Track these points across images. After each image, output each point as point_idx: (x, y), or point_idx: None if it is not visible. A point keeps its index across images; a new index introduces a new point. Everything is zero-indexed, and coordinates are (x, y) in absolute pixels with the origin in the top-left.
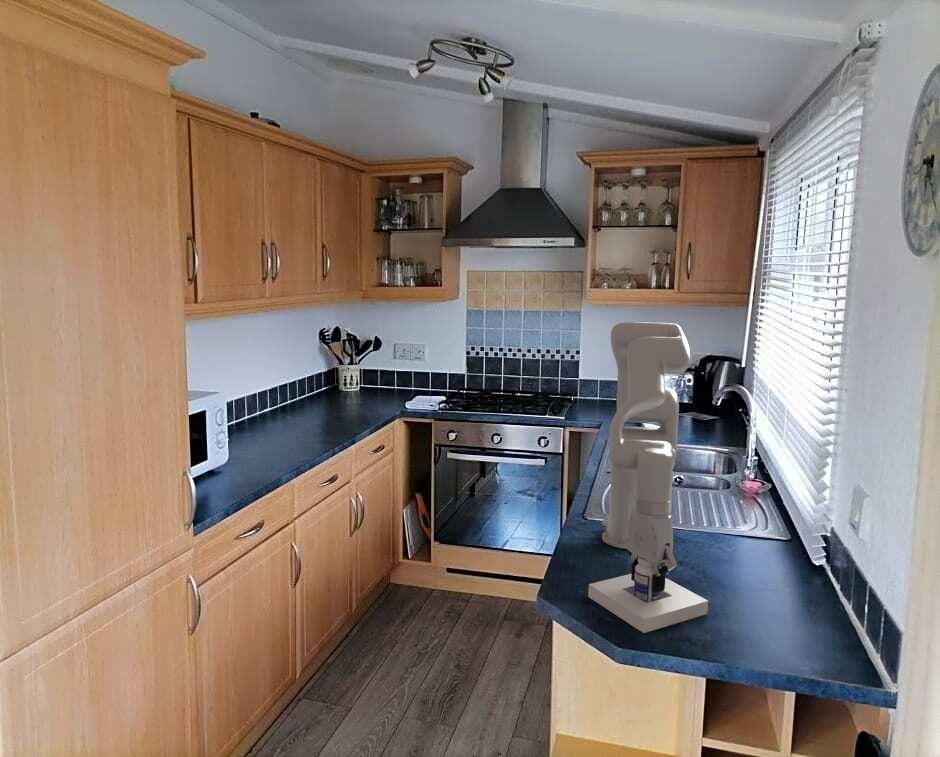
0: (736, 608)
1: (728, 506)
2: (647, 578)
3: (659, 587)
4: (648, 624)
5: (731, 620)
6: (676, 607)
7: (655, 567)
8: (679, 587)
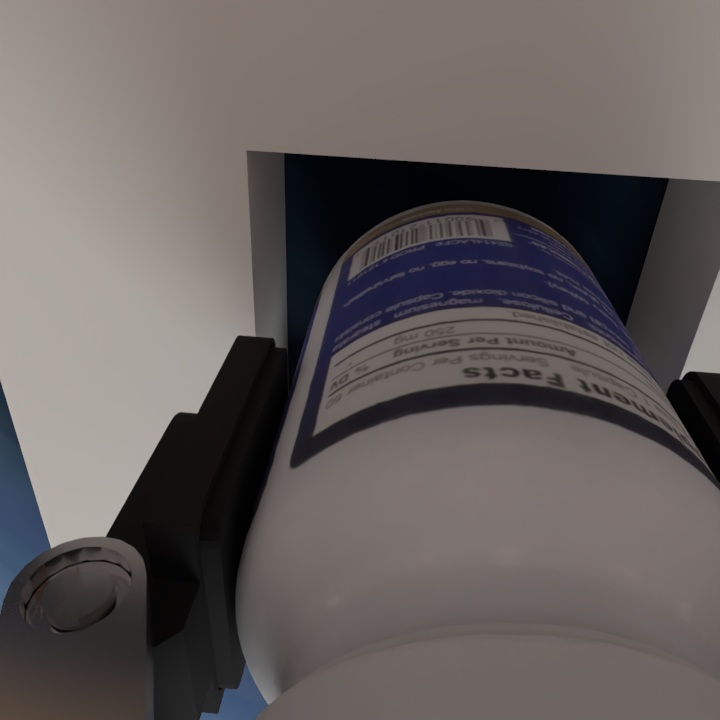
0: None
1: None
2: (318, 421)
3: (168, 427)
4: None
5: (6, 585)
6: (38, 368)
7: (77, 715)
8: None
